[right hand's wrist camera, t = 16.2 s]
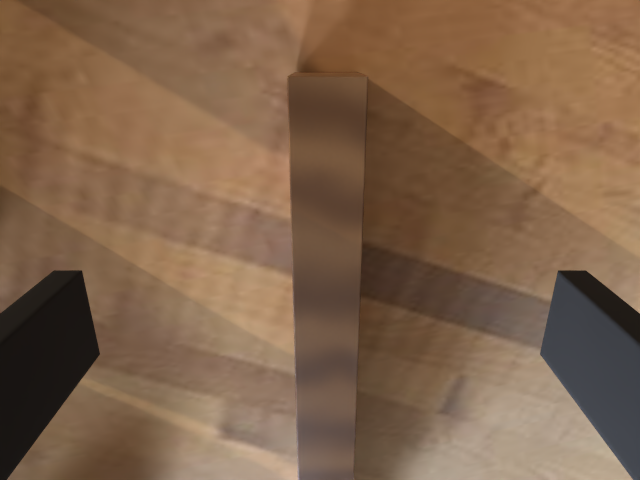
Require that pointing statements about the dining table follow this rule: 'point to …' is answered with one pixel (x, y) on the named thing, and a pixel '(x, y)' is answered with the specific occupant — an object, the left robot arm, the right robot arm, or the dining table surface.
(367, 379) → the dining table surface
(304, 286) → the beam
